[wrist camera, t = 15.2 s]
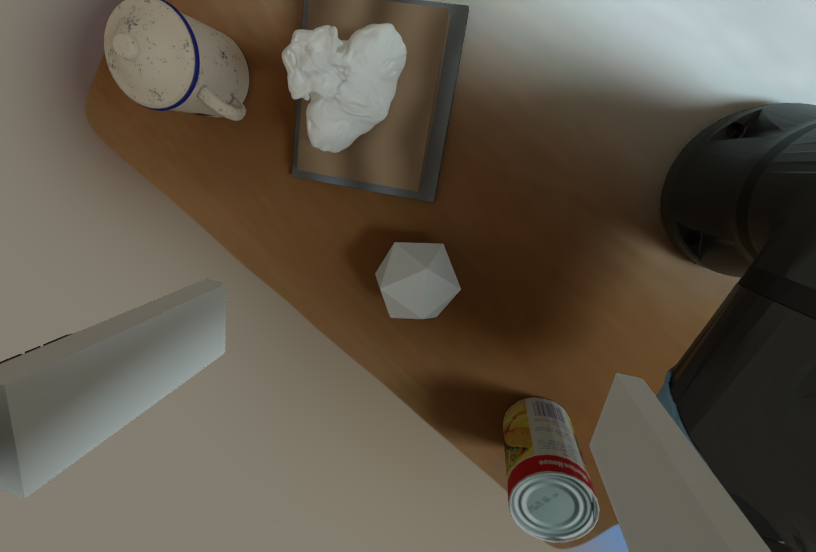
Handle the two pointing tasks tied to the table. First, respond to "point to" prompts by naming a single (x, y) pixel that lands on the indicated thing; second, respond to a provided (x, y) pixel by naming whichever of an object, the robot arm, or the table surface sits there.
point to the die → (417, 280)
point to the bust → (344, 80)
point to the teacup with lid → (175, 61)
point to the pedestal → (410, 108)
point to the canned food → (547, 473)
